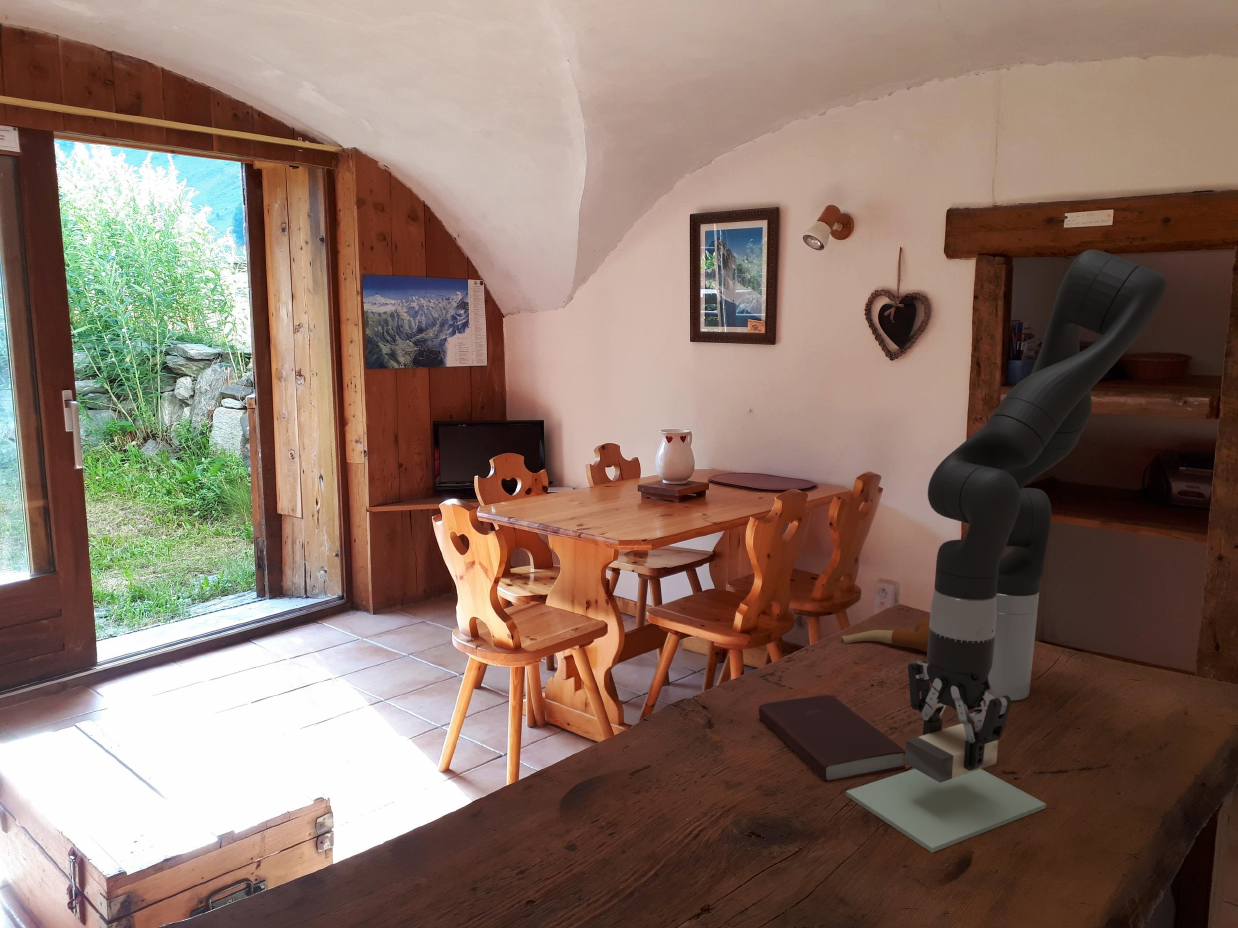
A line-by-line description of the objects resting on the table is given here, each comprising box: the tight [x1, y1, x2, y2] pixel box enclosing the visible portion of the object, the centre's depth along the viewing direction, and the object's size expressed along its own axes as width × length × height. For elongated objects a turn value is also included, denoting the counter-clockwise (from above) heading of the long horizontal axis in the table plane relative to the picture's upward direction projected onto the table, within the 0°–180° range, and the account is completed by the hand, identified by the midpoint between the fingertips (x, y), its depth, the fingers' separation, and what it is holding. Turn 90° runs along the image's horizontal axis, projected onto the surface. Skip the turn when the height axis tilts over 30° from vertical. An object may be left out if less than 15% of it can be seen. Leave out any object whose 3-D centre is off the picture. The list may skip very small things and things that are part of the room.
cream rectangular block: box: [904, 723, 999, 783], centre depth 116 cm, size 10×6×3 cm, turn 120°
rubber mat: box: [845, 768, 1047, 854], centre depth 117 cm, size 14×20×1 cm
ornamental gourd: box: [841, 618, 930, 653], centre depth 168 cm, size 7×18×6 cm, turn 84°
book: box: [758, 695, 906, 782], centre depth 132 cm, size 12×19×3 cm, turn 18°
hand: (951, 756), depth 116 cm, fingers closed on cream rectangular block, 5 cm apart
